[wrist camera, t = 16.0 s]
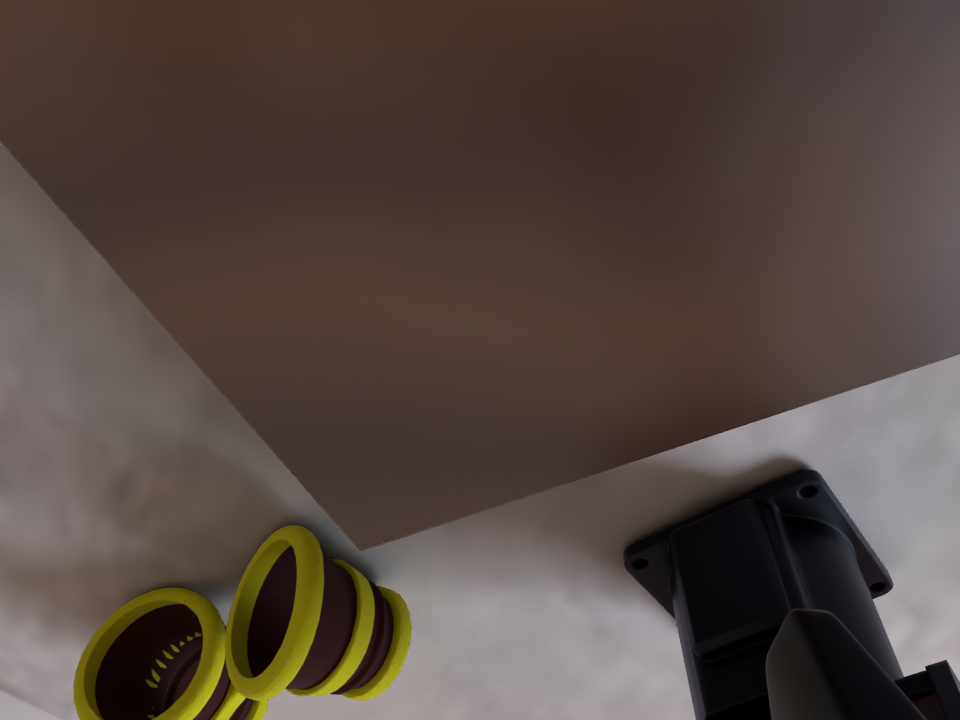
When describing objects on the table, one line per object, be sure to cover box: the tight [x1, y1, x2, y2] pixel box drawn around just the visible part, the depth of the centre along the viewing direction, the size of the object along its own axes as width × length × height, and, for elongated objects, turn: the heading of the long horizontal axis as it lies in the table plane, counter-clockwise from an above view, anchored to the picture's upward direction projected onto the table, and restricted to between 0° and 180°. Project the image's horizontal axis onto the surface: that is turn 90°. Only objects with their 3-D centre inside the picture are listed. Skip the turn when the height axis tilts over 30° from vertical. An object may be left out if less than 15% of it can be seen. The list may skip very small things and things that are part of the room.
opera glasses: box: [74, 525, 411, 720], centre depth 28 cm, size 10×5×5 cm, turn 123°
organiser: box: [0, 0, 960, 551], centre depth 16 cm, size 16×14×6 cm
